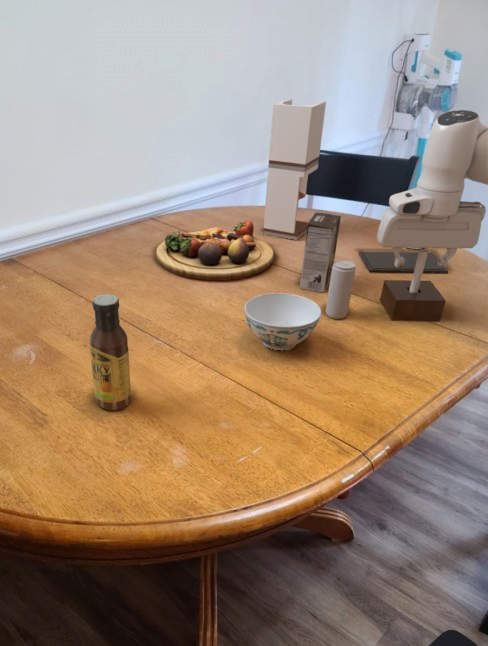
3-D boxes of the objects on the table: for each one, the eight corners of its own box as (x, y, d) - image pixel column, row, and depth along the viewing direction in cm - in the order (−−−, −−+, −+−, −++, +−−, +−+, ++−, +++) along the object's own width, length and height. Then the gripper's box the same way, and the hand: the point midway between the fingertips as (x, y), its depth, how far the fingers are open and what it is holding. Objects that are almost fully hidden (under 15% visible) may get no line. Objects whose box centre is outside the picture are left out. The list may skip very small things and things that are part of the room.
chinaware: (330, 342, 116) (336, 308, 111) (286, 370, 107) (290, 334, 103) (272, 319, 125) (275, 286, 120) (227, 343, 116) (229, 308, 111)
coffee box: (306, 275, 144) (315, 211, 135) (332, 279, 142) (342, 214, 133) (298, 288, 138) (306, 223, 128) (324, 293, 136) (335, 226, 126)
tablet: (431, 255, 156) (432, 251, 155) (447, 273, 145) (448, 270, 145) (358, 254, 156) (359, 251, 156) (369, 272, 146) (370, 269, 145)
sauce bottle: (89, 400, 99) (76, 296, 88) (118, 387, 102) (110, 285, 91) (108, 417, 95) (97, 310, 84) (139, 403, 98) (132, 299, 87)
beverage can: (340, 322, 123) (349, 270, 116) (320, 315, 126) (328, 264, 119) (351, 314, 126) (360, 263, 119) (332, 308, 129) (340, 257, 122)
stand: (425, 300, 132) (430, 280, 129) (440, 321, 124) (446, 300, 121) (379, 299, 133) (384, 279, 130) (391, 320, 124) (396, 299, 121)
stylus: (411, 308, 129) (426, 249, 121) (413, 312, 127) (429, 252, 119) (403, 308, 129) (418, 249, 121) (405, 312, 127) (420, 252, 119)
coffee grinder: (296, 240, 165) (311, 107, 145) (263, 234, 169) (273, 104, 149) (310, 229, 173) (326, 101, 153) (277, 224, 177) (289, 98, 157)
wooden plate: (229, 231, 172) (231, 203, 167) (298, 265, 149) (301, 235, 145) (135, 251, 158) (134, 221, 153) (195, 292, 136) (195, 259, 131)
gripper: (482, 197, 116) (463, 261, 124) (382, 196, 117) (369, 260, 125) (494, 206, 111) (474, 272, 119) (390, 205, 112) (376, 271, 120)
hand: (419, 266), depth 122 cm, fingers open, 8 cm apart
